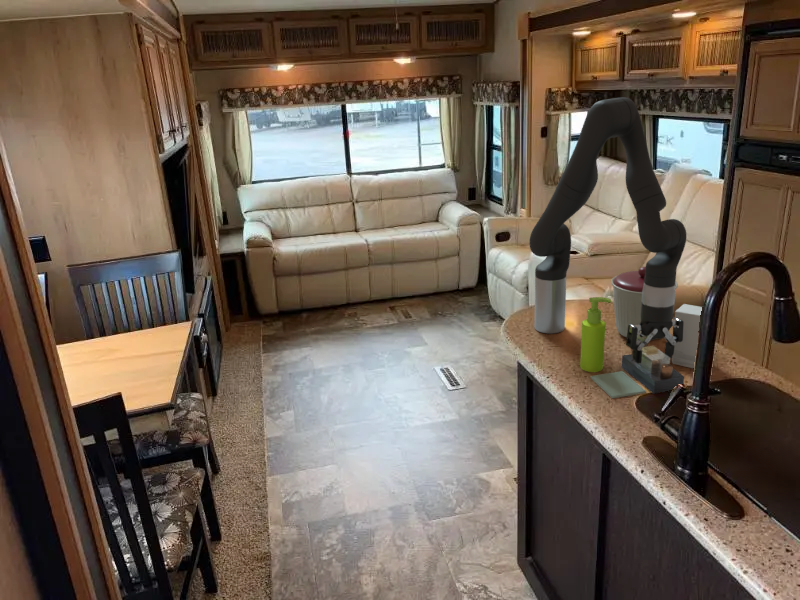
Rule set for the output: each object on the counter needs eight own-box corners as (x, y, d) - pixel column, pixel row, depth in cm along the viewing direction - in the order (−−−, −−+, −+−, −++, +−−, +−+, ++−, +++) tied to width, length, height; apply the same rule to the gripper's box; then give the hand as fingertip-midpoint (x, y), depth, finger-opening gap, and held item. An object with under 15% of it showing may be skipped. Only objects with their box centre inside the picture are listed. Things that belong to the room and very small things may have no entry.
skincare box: (710, 362, 164) (717, 308, 158) (702, 372, 159) (708, 317, 154) (678, 354, 169) (684, 302, 164) (669, 363, 165) (674, 310, 159)
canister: (628, 350, 173) (633, 280, 166) (596, 326, 190) (600, 262, 183) (685, 341, 176) (693, 272, 169) (649, 319, 193) (655, 255, 186)
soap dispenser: (608, 372, 162) (612, 302, 155) (581, 371, 164) (584, 302, 156) (605, 362, 167) (609, 294, 160) (579, 361, 169) (582, 294, 162)
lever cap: (635, 361, 160) (636, 346, 158) (653, 358, 161) (654, 343, 159) (650, 373, 153) (652, 357, 152) (669, 370, 154) (670, 354, 153)
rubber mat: (590, 378, 160) (590, 376, 160) (622, 373, 161) (622, 371, 161) (612, 398, 150) (612, 396, 150) (645, 392, 151) (645, 390, 151)
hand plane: (621, 367, 164) (623, 338, 161) (648, 362, 166) (651, 334, 163) (653, 393, 151) (656, 362, 148) (682, 388, 152) (686, 358, 149)
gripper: (674, 292, 155) (669, 349, 161) (623, 299, 153) (619, 357, 159) (693, 301, 148) (687, 361, 154) (640, 309, 146) (635, 370, 152)
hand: (652, 359), depth 156 cm, fingers open, 8 cm apart
